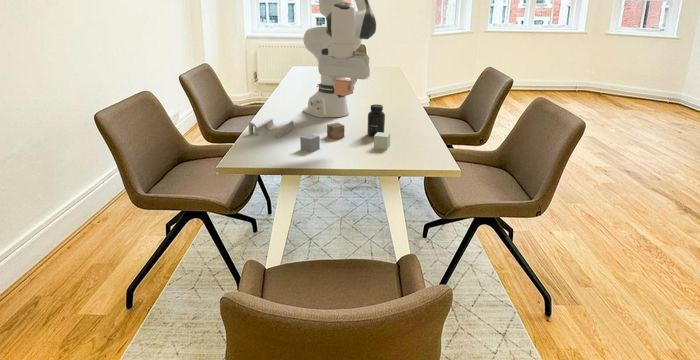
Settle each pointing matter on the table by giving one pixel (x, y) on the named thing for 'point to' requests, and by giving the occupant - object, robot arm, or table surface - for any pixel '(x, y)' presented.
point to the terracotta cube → (342, 87)
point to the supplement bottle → (376, 120)
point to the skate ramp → (269, 128)
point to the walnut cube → (335, 130)
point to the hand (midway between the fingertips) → (343, 89)
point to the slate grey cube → (310, 142)
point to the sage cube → (381, 140)
